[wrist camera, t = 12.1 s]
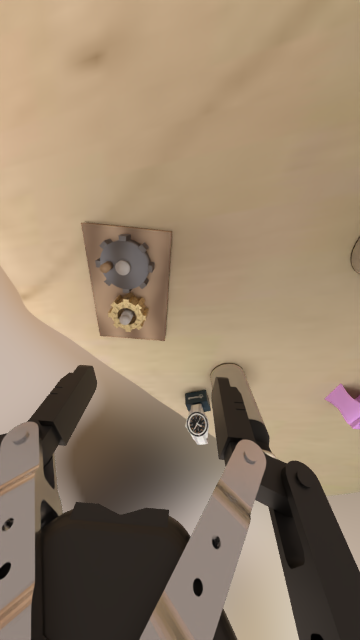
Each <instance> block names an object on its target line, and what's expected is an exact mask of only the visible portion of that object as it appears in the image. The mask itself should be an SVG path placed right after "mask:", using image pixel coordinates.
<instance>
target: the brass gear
mask: <svg viewBox="0 0 360 640" xmlns="http://www.w3.org/2000/svg"><path fill="white" fill-rule="evenodd" d="M144 302H145V299H144V298H143V297H141V298H138V297H136V296H133V293H131V292H130V293H127V294H126V296H123V297H122V296H121V295H119V296H118V297H117V298H116V299H115V300H114V301H113V303H112V304H111V306H112V308H111V309H110V310H109V312H108V317H111V318H112V320H113V321H114V324H113V325H114V326H115V327H116V328H118V327H121V328H123V329H125V331H126V332H131V330H132V329H135V328H137V329H138V330H139V329H141V328H142V327H143V324H144V321H145V320H146V318H147V315H148V313H149V308H146V306H145V305H144ZM123 308H129V309H131V310H133V311H134V312H135V314H136V316H133V317H132V319H131V321H130V323H129V324H128V325H122V324H121V323H120V321H119V318H120V316H121V314H122V313H123Z"/></svg>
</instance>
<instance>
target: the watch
mask: <svg viewBox="0 0 360 640" xmlns="http://www.w3.org/2000/svg"><path fill="white" fill-rule="evenodd" d="M185 402H186V406H187V409H188V411H189V415H188V418H187V423H186V424H185V427H186V428H187V429H188V431H189V432H190V434H191V436H192V438H193V439H194V440H195V441H196V443H197V444H198V445H200V444H207V443H208V428H209V422H208V419H207V417H206V415H205V413H204V412H206V411H211V409H210V402H209V398H208V395H207V392H206V390H202V391H196V392H191V393H186V394H185Z"/></svg>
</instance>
